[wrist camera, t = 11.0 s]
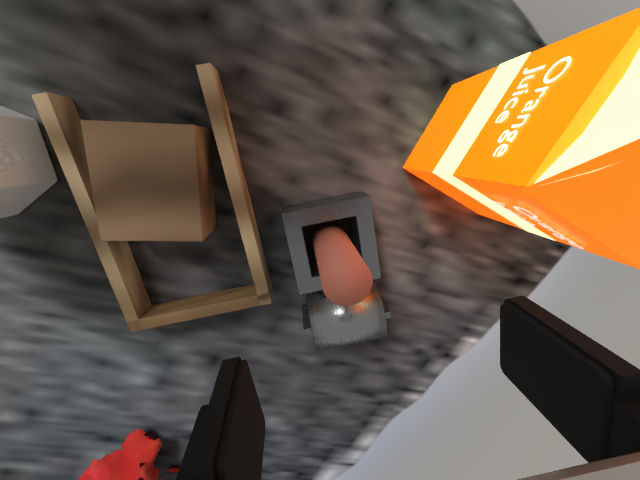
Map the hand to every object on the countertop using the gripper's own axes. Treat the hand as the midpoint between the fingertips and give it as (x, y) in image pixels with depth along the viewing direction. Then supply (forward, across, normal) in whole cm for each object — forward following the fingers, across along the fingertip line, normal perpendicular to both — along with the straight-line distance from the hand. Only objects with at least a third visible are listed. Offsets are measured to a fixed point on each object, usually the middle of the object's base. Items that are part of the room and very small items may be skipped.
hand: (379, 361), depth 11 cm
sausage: (+17, 0, 0) cm, 17 cm away
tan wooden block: (+18, +12, -7) cm, 22 cm away
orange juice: (+17, -13, -4) cm, 22 cm away
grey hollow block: (+17, 0, +3) cm, 17 cm away
